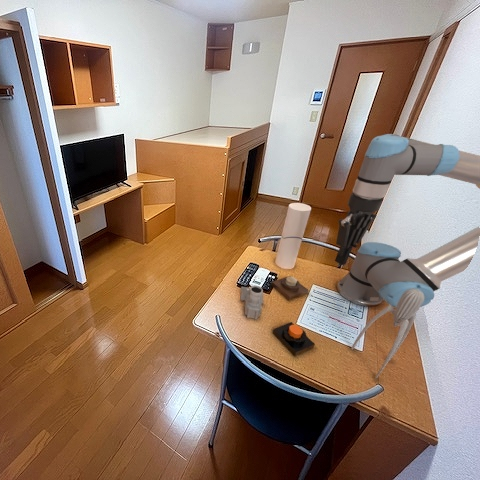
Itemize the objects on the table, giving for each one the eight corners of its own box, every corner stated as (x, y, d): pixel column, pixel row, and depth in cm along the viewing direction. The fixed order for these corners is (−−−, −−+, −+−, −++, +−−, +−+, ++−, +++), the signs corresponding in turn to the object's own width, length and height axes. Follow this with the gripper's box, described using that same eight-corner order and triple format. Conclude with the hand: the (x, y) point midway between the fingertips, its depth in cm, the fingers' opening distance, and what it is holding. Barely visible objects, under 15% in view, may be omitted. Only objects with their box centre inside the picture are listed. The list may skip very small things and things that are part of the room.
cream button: (290, 279, 110) (291, 275, 109) (298, 284, 107) (299, 281, 106) (283, 281, 109) (284, 277, 108) (290, 287, 106) (291, 283, 105)
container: (296, 269, 121) (313, 211, 106) (276, 268, 123) (291, 210, 107) (292, 259, 128) (308, 203, 113) (273, 257, 130) (287, 202, 114)
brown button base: (289, 279, 115) (291, 272, 113) (307, 293, 107) (309, 286, 105) (271, 285, 113) (272, 278, 110) (288, 300, 104) (290, 293, 102)
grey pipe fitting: (243, 293, 92) (244, 268, 105) (239, 316, 98) (240, 291, 111) (269, 297, 90) (267, 271, 102) (264, 321, 96) (261, 294, 108)
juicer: (404, 376, 77) (462, 302, 61) (375, 379, 76) (426, 305, 61) (376, 345, 86) (421, 275, 70) (350, 348, 85) (389, 277, 70)
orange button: (294, 327, 89) (295, 323, 88) (303, 336, 86) (305, 332, 85) (285, 330, 88) (286, 326, 87) (294, 340, 85) (296, 336, 84)
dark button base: (290, 326, 94) (292, 318, 92) (313, 348, 86) (316, 340, 84) (272, 333, 91) (274, 325, 89) (294, 356, 83) (297, 348, 81)
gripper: (369, 187, 78) (343, 252, 90) (338, 194, 74) (315, 261, 86) (397, 195, 72) (365, 263, 84) (364, 203, 68) (335, 274, 80)
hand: (340, 262), depth 85 cm, fingers closed
